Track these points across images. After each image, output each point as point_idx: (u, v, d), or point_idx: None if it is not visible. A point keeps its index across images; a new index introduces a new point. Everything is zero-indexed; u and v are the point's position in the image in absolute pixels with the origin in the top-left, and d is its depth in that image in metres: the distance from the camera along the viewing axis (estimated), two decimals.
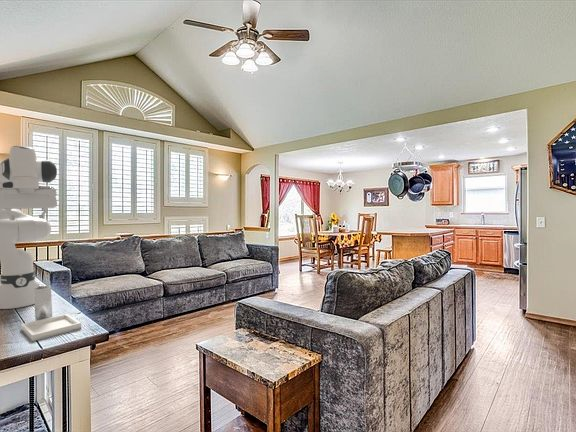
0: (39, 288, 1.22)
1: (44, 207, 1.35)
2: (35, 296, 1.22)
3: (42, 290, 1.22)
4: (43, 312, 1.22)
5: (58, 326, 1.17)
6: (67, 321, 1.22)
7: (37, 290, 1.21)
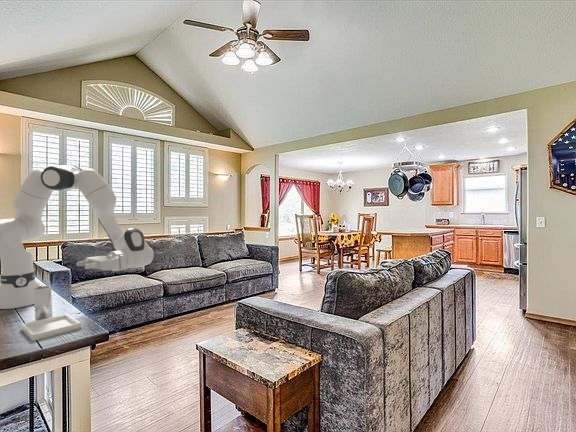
0: (39, 288, 1.22)
1: None
2: (35, 296, 1.22)
3: (42, 290, 1.22)
4: (43, 312, 1.22)
5: (58, 326, 1.17)
6: (67, 321, 1.22)
7: (37, 290, 1.21)
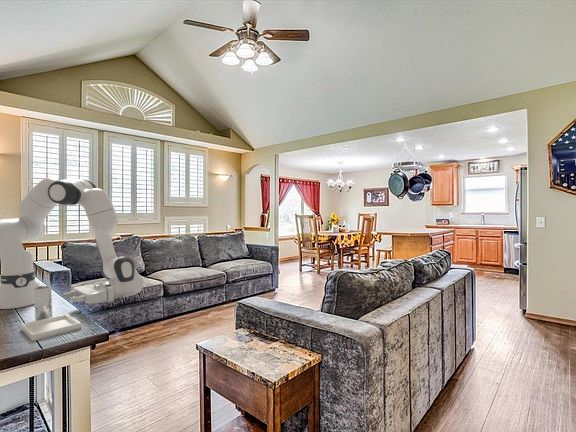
0: (39, 288, 1.22)
1: (75, 296, 1.37)
2: (35, 296, 1.22)
3: (42, 290, 1.22)
4: (43, 312, 1.22)
5: (58, 326, 1.17)
6: (67, 321, 1.22)
7: (37, 290, 1.21)
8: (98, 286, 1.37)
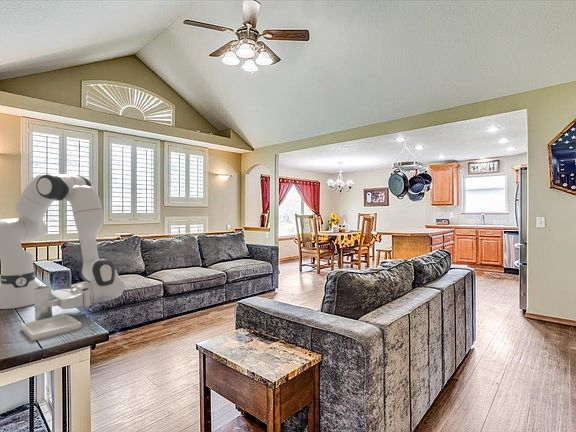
0: (39, 288, 1.22)
1: (51, 301, 1.31)
2: (35, 296, 1.22)
3: (42, 290, 1.22)
4: (43, 312, 1.22)
5: (58, 326, 1.17)
6: (67, 321, 1.22)
7: (37, 290, 1.21)
8: (75, 290, 1.31)
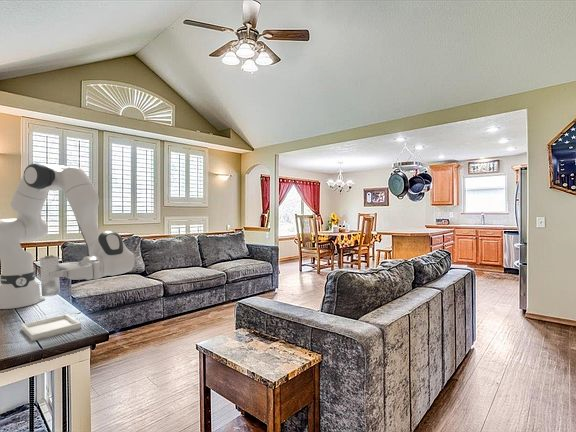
0: (46, 258, 1.13)
1: None
2: (41, 266, 1.12)
3: (49, 260, 1.13)
4: (50, 283, 1.13)
5: (58, 326, 1.17)
6: (67, 321, 1.22)
7: (43, 260, 1.12)
8: (83, 261, 1.21)
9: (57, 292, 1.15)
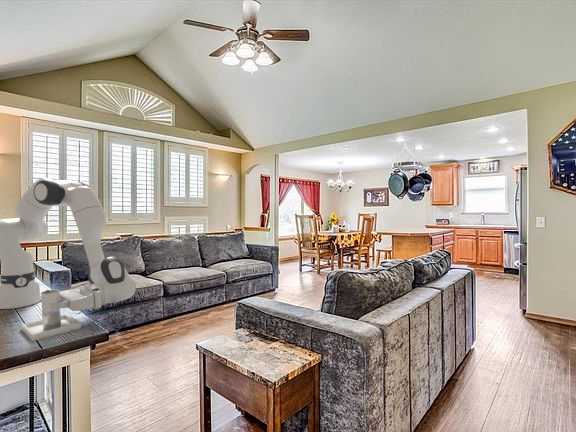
0: (47, 292, 1.13)
1: None
2: (42, 301, 1.13)
3: (50, 295, 1.13)
4: (51, 318, 1.13)
5: None
6: (67, 321, 1.22)
7: (44, 295, 1.12)
8: (84, 290, 1.22)
9: (58, 326, 1.15)
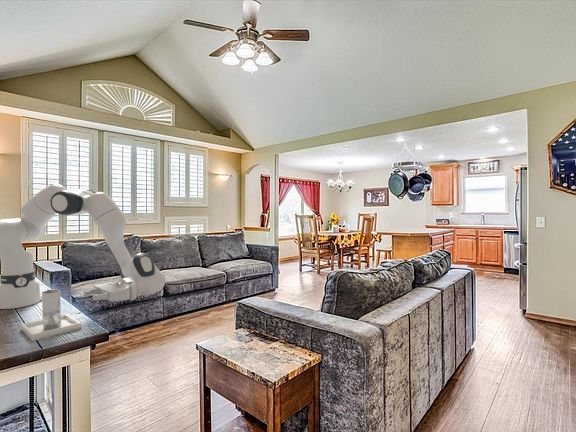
0: (47, 292, 1.14)
1: (97, 294, 1.31)
2: (43, 301, 1.13)
3: (51, 294, 1.13)
4: (52, 318, 1.13)
5: None
6: (67, 321, 1.22)
7: (45, 294, 1.12)
8: (120, 283, 1.31)
9: (58, 326, 1.15)
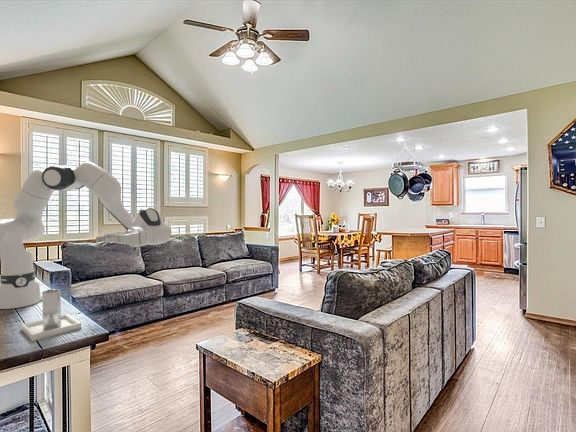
0: (48, 292, 1.14)
1: None
2: (43, 300, 1.13)
3: (51, 294, 1.13)
4: (52, 318, 1.13)
5: None
6: (67, 321, 1.22)
7: (46, 294, 1.13)
8: (130, 231, 1.39)
9: (58, 326, 1.15)
